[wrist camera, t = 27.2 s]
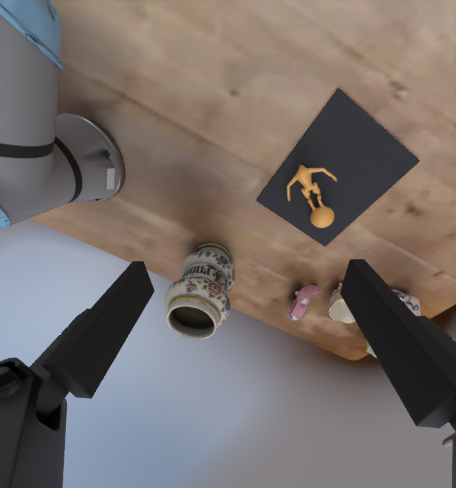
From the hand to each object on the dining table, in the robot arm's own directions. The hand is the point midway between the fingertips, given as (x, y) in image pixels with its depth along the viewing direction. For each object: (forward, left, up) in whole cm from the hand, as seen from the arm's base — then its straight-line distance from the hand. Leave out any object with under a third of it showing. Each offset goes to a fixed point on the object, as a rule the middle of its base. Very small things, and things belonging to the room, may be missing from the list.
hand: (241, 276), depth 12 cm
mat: (+12, +9, -27) cm, 31 cm away
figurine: (+16, +2, -23) cm, 28 cm away
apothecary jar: (+3, -19, -27) cm, 34 cm away
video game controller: (+27, -15, -27) cm, 41 cm away
